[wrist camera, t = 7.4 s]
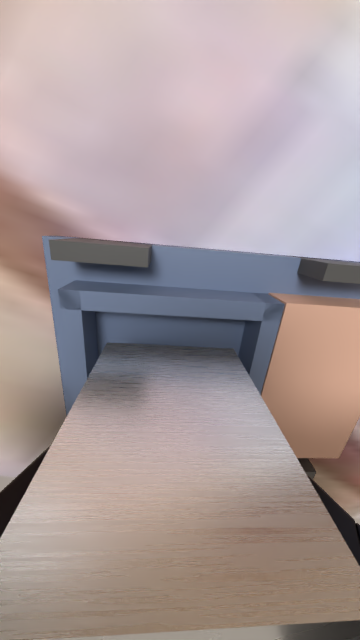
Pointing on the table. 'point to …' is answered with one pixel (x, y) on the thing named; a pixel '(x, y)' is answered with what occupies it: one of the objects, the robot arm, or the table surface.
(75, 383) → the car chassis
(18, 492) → the robot arm
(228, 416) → the grey rectangular block
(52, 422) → the table surface
